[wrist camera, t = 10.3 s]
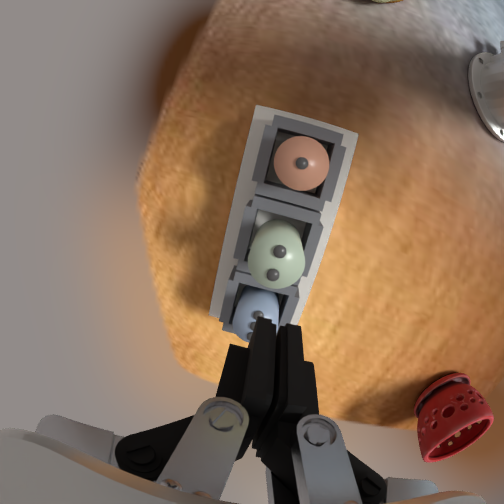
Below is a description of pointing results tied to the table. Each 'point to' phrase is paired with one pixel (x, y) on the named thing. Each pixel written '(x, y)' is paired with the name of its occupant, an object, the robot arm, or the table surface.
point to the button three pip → (254, 310)
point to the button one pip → (301, 163)
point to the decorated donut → (386, 1)
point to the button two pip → (276, 254)
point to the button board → (280, 209)
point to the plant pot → (450, 417)
